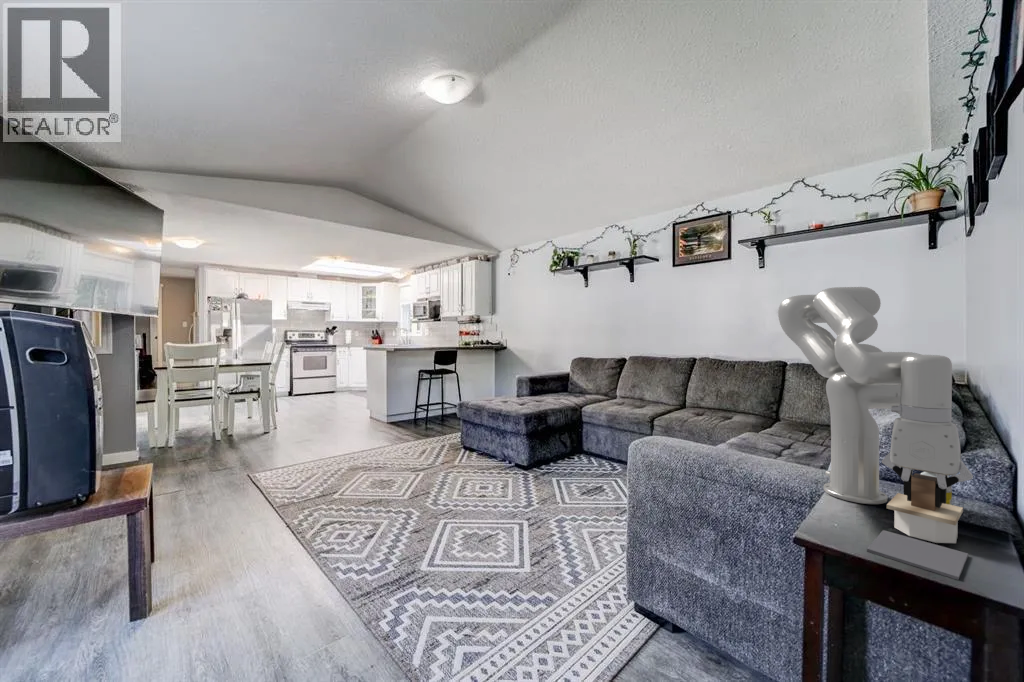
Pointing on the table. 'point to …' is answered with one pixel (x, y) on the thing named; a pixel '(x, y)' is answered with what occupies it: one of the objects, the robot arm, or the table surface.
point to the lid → (925, 502)
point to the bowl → (925, 528)
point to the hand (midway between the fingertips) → (924, 501)
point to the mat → (919, 554)
